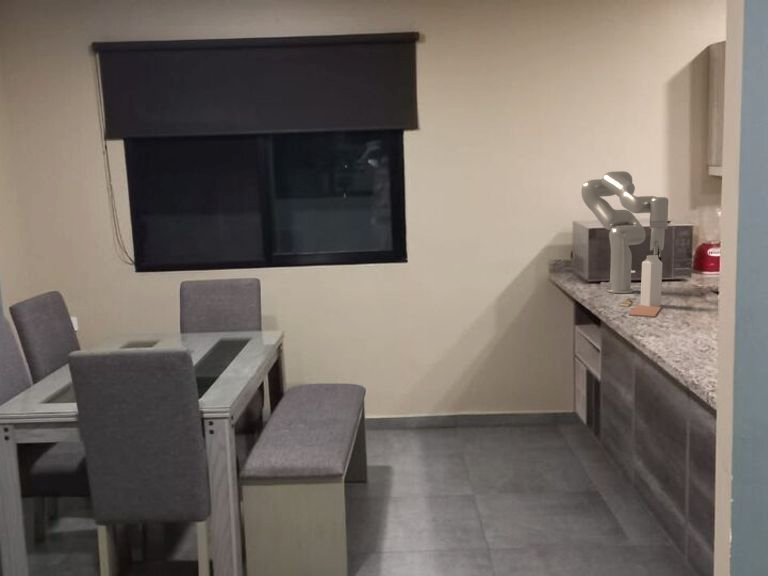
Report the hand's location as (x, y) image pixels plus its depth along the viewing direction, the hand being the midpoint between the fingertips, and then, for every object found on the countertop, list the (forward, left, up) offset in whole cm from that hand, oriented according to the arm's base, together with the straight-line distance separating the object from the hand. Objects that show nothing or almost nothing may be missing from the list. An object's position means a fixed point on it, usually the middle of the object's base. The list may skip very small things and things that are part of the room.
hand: (657, 265), depth 338 cm
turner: (-10, -15, -15) cm, 24 cm away
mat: (0, -30, -15) cm, 34 cm away
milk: (0, -15, -15) cm, 22 cm away
